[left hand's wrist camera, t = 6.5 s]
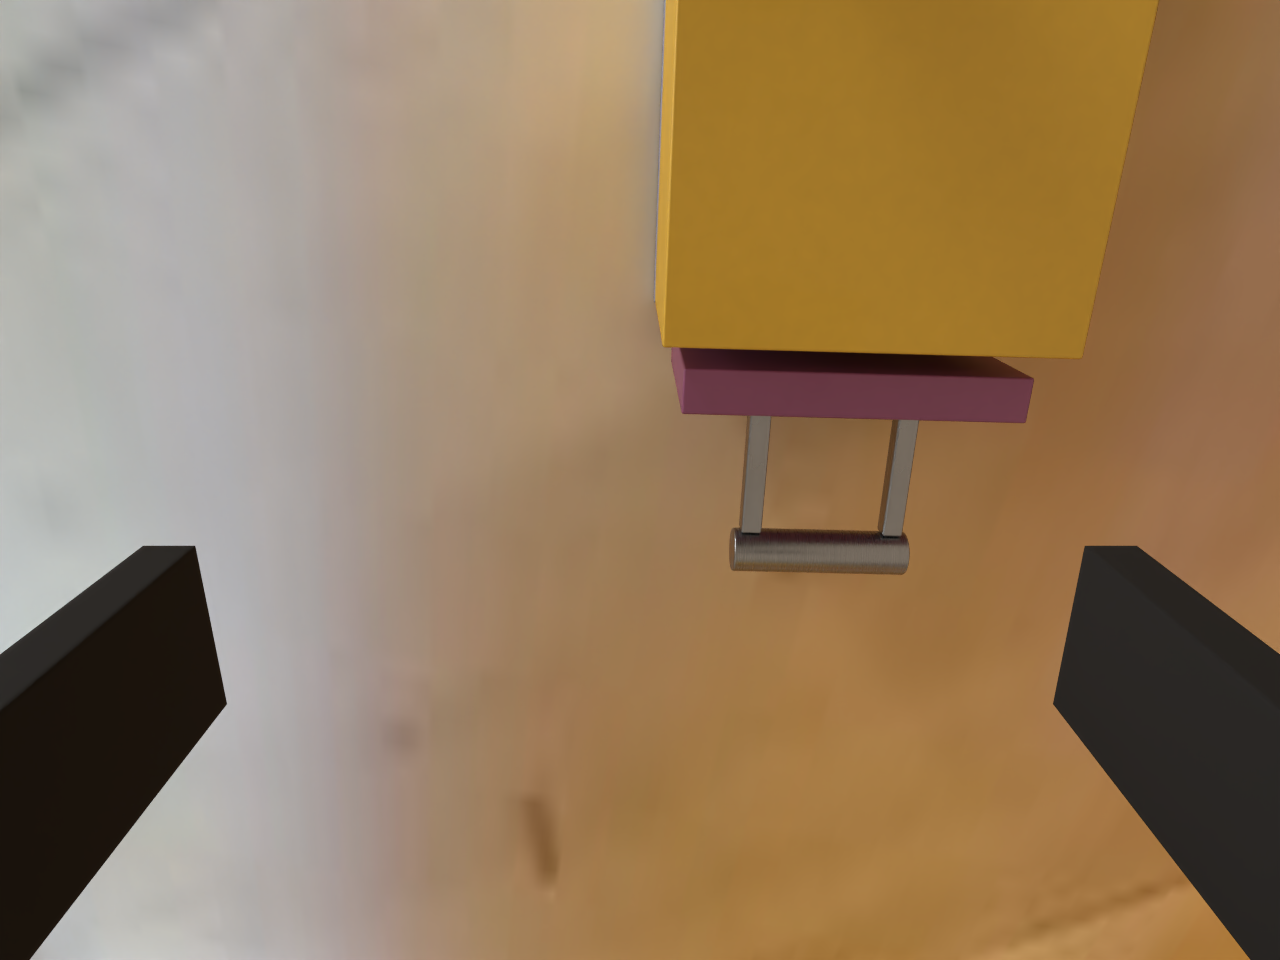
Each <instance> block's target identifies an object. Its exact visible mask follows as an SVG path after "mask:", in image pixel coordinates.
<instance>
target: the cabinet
mask: <svg viewBox="0 0 1280 960" xmlns="http://www.w3.org/2000/svg"><path fill="white" fill-rule="evenodd" d="M1158 4H1159V0H664V28H663V56H662V84H661V112H660V140H659V168H658V196H657V224H656V252H655V280H654V302H655V303H656V309H657V314H658V320H659V326H660V332H661V339H662V345H663V347H674V348H709V349H744V350H779V351H814V352H849V353H884V354H919V355H954V356H988V357H1023V358H1058V359H1081V358H1082V357H1083V352H1084V348H1085V343H1086V338H1087V334H1088V329H1089V325H1090V320H1091V315H1092V311H1093V306H1094V301H1095V297H1096V292H1097V287H1098V283H1099V278H1100V273H1101V269H1102V264H1103V259H1104V255H1105V250H1106V246H1107V241H1108V236H1109V232H1110V227H1111V222H1112V218H1113V213H1114V208H1115V204H1116V199H1117V194H1118V190H1119V185H1120V180H1121V176H1122V171H1123V167H1124V162H1125V157H1126V153H1127V148H1128V143H1129V139H1130V134H1131V129H1132V125H1133V120H1134V115H1135V111H1136V106H1137V101H1138V97H1139V92H1140V87H1141V83H1142V78H1143V74H1144V69H1145V64H1146V60H1147V55H1148V50H1149V46H1150V41H1151V36H1152V32H1153V27H1154V22H1155V18H1156V13H1157V8H1158Z"/></svg>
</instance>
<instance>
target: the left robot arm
mask: <svg viewBox="0 0 1280 960" xmlns="http://www.w3.org/2000/svg"><path fill="white" fill-rule="evenodd" d="M226 705H227V702H226V697H225V692H224V687H223V682H222V677H221V672H220V667H219V662H218V657H217V652H216V647H215V642H214V637H213V632H212V627H211V622H210V617H209V612H208V607H207V602H206V597H205V592H204V588H203V583H202V578H201V573H200V568H199V563H198V558H197V553H196V548H195V546H142V547H141V548H140V549H139V550H137V551H136V552H135V553H133V554H132V555H131V556H129V557H128V558H127V559H125V560H124V561H123V562H121V563H120V564H119V565H117V566H116V567H115V568H113V569H112V570H111V571H110V572H108V573H107V574H106V575H104V576H103V577H102V578H100V579H99V580H98V581H96V582H95V583H94V584H92V585H91V586H90V587H88V588H87V589H86V590H85V591H83V592H82V593H81V594H79V595H78V596H77V597H75V598H74V599H73V600H71V601H70V602H69V603H67V604H66V605H65V606H63V607H62V608H61V609H59V610H58V611H57V612H56V613H54V614H53V615H52V616H50V617H49V618H48V619H46V620H45V621H44V622H42V623H41V624H40V625H38V626H37V627H36V628H34V629H33V630H32V631H30V632H29V633H28V634H27V635H25V636H24V637H23V638H21V639H20V640H19V641H17V642H16V643H15V644H13V645H12V646H11V647H9V648H8V649H7V650H5V651H4V652H3V653H2V654H0V960H30V958H31V957H32V956H33V955H34V953H35V952H36V951H37V949H38V948H39V947H40V945H41V944H42V943H43V942H44V940H45V939H46V938H47V936H48V935H49V934H50V933H51V931H52V930H53V929H54V927H55V926H56V925H57V923H58V922H59V921H60V920H61V918H62V917H63V916H64V914H65V913H66V912H67V911H68V909H69V908H70V907H71V905H72V904H73V903H74V901H75V900H76V899H77V898H78V896H79V895H80V894H81V892H82V891H83V890H84V888H85V887H86V886H87V885H88V883H89V882H90V881H91V879H92V878H93V877H94V876H95V874H96V873H97V872H98V870H99V869H100V868H101V866H102V865H103V864H104V863H105V861H106V860H107V859H108V857H109V856H110V855H111V854H112V852H113V851H114V850H115V848H116V847H117V846H118V844H119V843H120V842H121V841H122V839H123V838H124V837H125V835H126V834H127V833H128V831H129V830H130V829H131V828H132V826H133V825H134V824H135V822H136V821H137V820H138V819H139V817H140V816H141V815H142V813H143V812H144V811H145V809H146V808H147V807H148V806H149V804H150V803H151V802H152V800H153V799H154V798H155V797H156V795H157V794H158V793H159V791H160V790H161V789H162V787H163V786H164V785H165V784H166V782H167V781H168V780H169V778H170V777H171V776H172V774H173V773H174V772H175V771H176V769H177V768H178V767H179V765H180V764H181V763H182V762H183V760H184V759H185V758H186V756H187V755H188V754H189V752H190V751H191V750H192V749H193V747H194V746H195V745H196V743H197V742H198V741H199V740H200V738H201V737H202V736H203V734H204V733H205V732H206V730H207V729H208V728H209V727H210V725H211V724H212V723H213V721H214V720H215V719H216V717H217V716H218V715H219V714H220V712H221V711H222V710H223V708H224V707H225V706H226ZM1053 705H1054V706H1055V707H1056V708H1057V710H1058V711H1059V712H1060V714H1061V715H1062V716H1063V717H1064V719H1065V720H1066V721H1067V723H1068V724H1069V725H1070V727H1071V728H1072V729H1073V730H1074V732H1075V733H1076V734H1077V736H1078V737H1079V738H1080V740H1081V741H1082V742H1083V743H1084V745H1085V746H1086V747H1087V749H1088V750H1089V751H1090V752H1091V754H1092V755H1093V756H1094V758H1095V759H1096V760H1097V762H1098V763H1099V764H1100V765H1101V767H1102V768H1103V769H1104V771H1105V772H1106V773H1107V774H1108V776H1109V777H1110V778H1111V780H1112V781H1113V782H1114V784H1115V785H1116V786H1117V787H1118V789H1119V790H1120V791H1121V793H1122V794H1123V795H1124V797H1125V798H1126V799H1127V800H1128V802H1129V803H1130V804H1131V806H1132V807H1133V808H1134V809H1135V811H1136V812H1137V813H1138V815H1139V816H1140V817H1141V819H1142V820H1143V821H1144V822H1145V824H1146V825H1147V826H1148V828H1149V829H1150V830H1151V831H1152V833H1153V834H1154V835H1155V837H1156V838H1157V839H1158V841H1159V842H1160V843H1161V844H1162V846H1163V847H1164V848H1165V850H1166V851H1167V852H1168V854H1169V855H1170V856H1171V857H1172V859H1173V860H1174V861H1175V863H1176V864H1177V865H1178V866H1179V868H1180V869H1181V870H1182V872H1183V873H1184V874H1185V876H1186V877H1187V878H1188V879H1189V881H1190V882H1191V883H1192V885H1193V886H1194V887H1195V888H1196V890H1197V891H1198V892H1199V894H1200V895H1201V896H1202V898H1203V899H1204V900H1205V901H1206V903H1207V904H1208V905H1209V907H1210V908H1211V909H1212V911H1213V912H1214V913H1215V914H1216V916H1217V917H1218V918H1219V920H1220V921H1221V922H1222V923H1223V925H1224V926H1225V927H1226V929H1227V930H1228V931H1229V933H1230V934H1231V935H1232V936H1233V938H1234V939H1235V940H1236V942H1237V943H1238V944H1239V945H1240V947H1241V948H1242V949H1243V951H1244V952H1245V953H1246V955H1247V956H1248V957H1249V958H1250V960H1280V654H1278V653H1277V652H1276V651H1275V650H1273V649H1272V648H1271V647H1269V646H1268V645H1267V644H1265V643H1264V642H1263V641H1261V640H1260V639H1259V638H1257V637H1256V636H1255V635H1253V634H1252V633H1251V632H1250V631H1248V630H1247V629H1246V628H1244V627H1243V626H1242V625H1240V624H1239V623H1238V622H1236V621H1235V620H1234V619H1232V618H1231V617H1230V616H1228V615H1227V614H1226V613H1224V612H1223V611H1222V610H1221V609H1219V608H1218V607H1217V606H1215V605H1214V604H1213V603H1211V602H1210V601H1209V600H1207V599H1206V598H1205V597H1203V596H1202V595H1201V594H1199V593H1198V592H1197V591H1195V590H1194V589H1193V588H1192V587H1190V586H1189V585H1188V584H1186V583H1185V582H1184V581H1182V580H1181V579H1180V578H1178V577H1177V576H1176V575H1174V574H1173V573H1172V572H1170V571H1169V570H1168V569H1167V568H1165V567H1164V566H1163V565H1161V564H1160V563H1159V562H1157V561H1156V560H1155V559H1153V558H1152V557H1151V556H1149V555H1148V554H1147V553H1145V552H1144V551H1143V550H1141V549H1140V548H1139V547H1138V546H1085V548H1084V553H1083V558H1082V563H1081V568H1080V573H1079V578H1078V583H1077V588H1076V592H1075V597H1074V602H1073V607H1072V612H1071V617H1070V622H1069V627H1068V632H1067V637H1066V642H1065V647H1064V652H1063V657H1062V662H1061V667H1060V672H1059V677H1058V682H1057V687H1056V692H1055V697H1054V702H1053Z"/></svg>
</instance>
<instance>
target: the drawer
mask: <svg viewBox="0 0 1280 960" xmlns="http://www.w3.org/2000/svg"><path fill="white" fill-rule="evenodd" d="M671 362H672V367H673V372H674V377H675V382H676V387H677V392H678V396H679V401H680V406H681V411H682V413H683V414H707V415H744V416H747V429H746V442H745V455H744V467H743V480H742V493H741V506H740V519H739V526H740V528H732V530H731V534H730V543H729V559H730V567H731V570H733V571H766V572H808V573H850V574H892V575H902V574H904V573H905V572H906V570H907V568H908V564H909V543H908V539H907V536H906V535H905V533H903V532H902V530H903V523H904V516H905V510H906V503H907V497H908V490H909V483H910V477H911V470H912V463H913V457H914V450H915V444H916V437H917V430H918V424H919V420H928V421H965V422H1001V423H1025V422H1026V418H1027V413H1028V408H1029V403H1030V398H1031V393H1032V387H1033V382H1034V379H1033V378H1031V377H1030V376H1028V375H1026V374H1024V373H1022V372H1020V371H1018V370H1016V369H1014V368H1012V367H1010V366H1009V365H1007V364H1005V363H1003V362H1001V361H999V360H997V359H995V358H993V357H988V356H954V355H919V354H884V353H849V352H814V351H779V350H744V349H709V348H674V347H672V354H671ZM771 416H780V417H817V418H854V419H891V420H893V421H892V429H891V436H890V443H889V450H888V457H887V464H886V471H885V479H884V486H883V493H882V500H881V507H880V514H879V522H878V530H879V531H852V530H811V529H771V528H762V517H763V505H764V494H765V482H766V471H767V460H768V448H769V437H770V425H771Z"/></svg>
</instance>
